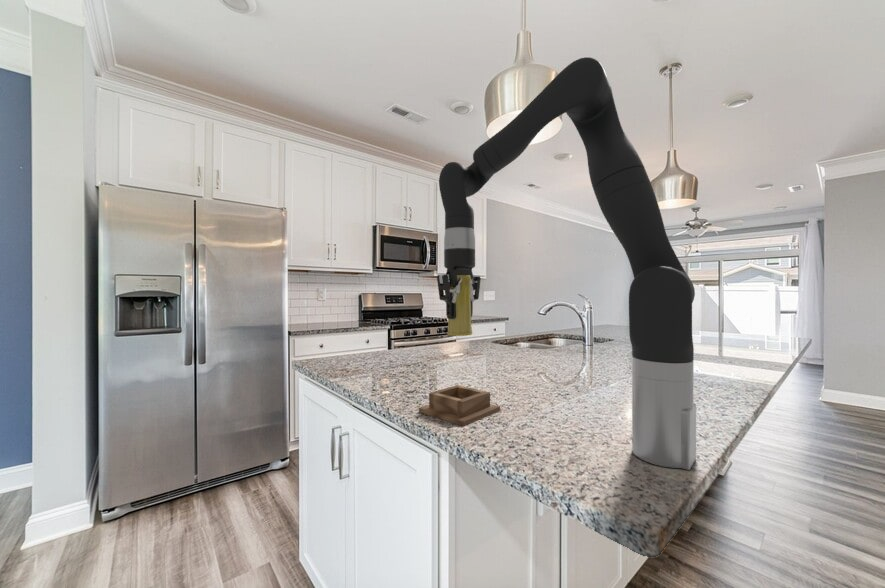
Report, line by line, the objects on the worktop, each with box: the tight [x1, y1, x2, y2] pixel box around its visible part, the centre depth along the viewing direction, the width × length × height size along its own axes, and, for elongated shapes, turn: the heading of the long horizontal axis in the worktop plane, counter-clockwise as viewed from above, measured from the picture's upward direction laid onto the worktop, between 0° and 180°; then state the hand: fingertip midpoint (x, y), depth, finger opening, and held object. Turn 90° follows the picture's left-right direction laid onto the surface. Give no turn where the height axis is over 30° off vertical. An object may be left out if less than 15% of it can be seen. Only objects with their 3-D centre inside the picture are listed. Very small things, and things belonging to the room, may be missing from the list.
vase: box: [446, 275, 473, 337], centre depth 89 cm, size 6×6×14 cm
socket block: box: [418, 384, 501, 427], centre depth 89 cm, size 14×14×4 cm
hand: (459, 317), depth 89 cm, fingers closed on vase, 5 cm apart
